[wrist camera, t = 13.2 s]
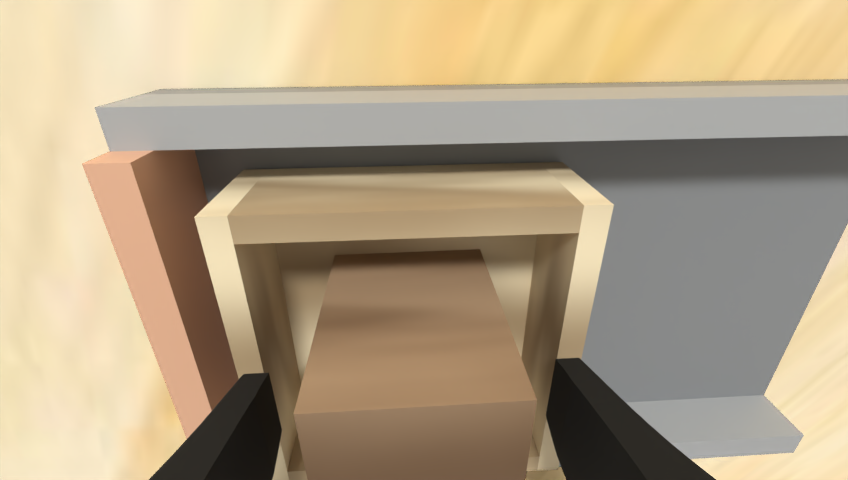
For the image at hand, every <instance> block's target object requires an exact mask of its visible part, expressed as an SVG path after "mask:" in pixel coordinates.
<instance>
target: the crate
mask: <svg viewBox="0 0 848 480" xmlns="http://www.w3.org/2000/svg"><path fill="white" fill-rule="evenodd" d="M613 207H614V204H613V203H611V202H610V201H609V200H608V199H606V198H605V197H604V196H603V195H602V194H600V193H599V192H598V191H597V190H596V189H594V188H593V187H592V186H591V185H589V184H588V183H587V182H586V181H585V180H583V179H582V178H581V177H580V176H579V175H577V174H576V173H575V172H574V171H572V170H571V169H570V168H569V167H568V166H566V165H565V164H564V163H563V162H540V163H498V164H457V165H415V166H374V167H332V168H290V169H249V170H243V171H242V172H241V173H240V174H238V175H237V176H236V177H235V178H234V179H233V180H232V181H231V182H230V183H229V184H228V185H227V186H226V187H225V188H224V189H223V190H222V191H221V192H220V193H219V194H218V195H217V196H216V197H215V198H214V199H212V200H211V201H210V202H209V203H208V204H207V205H206V206H205V207H204V208H203V209H202V210H201V211H200V212H199V213H198V214H197V215H196V216H195V217H194V218H195V222H196V225H197V229H198V233H199V236H200V240H201V244H202V247H203V251H204V254H205V258H206V262H207V265H208V269H209V273H210V276H211V280H212V284H213V287H214V291H215V295H216V298H217V302H218V306H219V309H220V313H221V317H222V320H223V324H224V327H225V331H226V335H227V338H228V342H229V346H230V349H231V353H232V357H233V360H234V364H235V368H236V371H237V375H238V379H239V378H240V377H241V376H242V375H243V374H251V373H269V375H270V380H271V384H272V388H273V393H274V397H275V401H276V406H277V410H278V415H279V419H280V423H281V428H282V433H281V439H280V445H279V450H278V456H277V461H276V466H275V471H274V475H273V478H272V480H307V475H306V470H305V466H304V461H303V456H302V452H301V447H300V442H299V438H298V433H297V428H296V424H295V419H294V415H293V414H294V410H295V407H296V403H297V399H298V395H299V391H300V387H301V383H302V380H303V376H304V372H305V368H306V364H307V360H308V357H309V353H310V349H311V345H312V341H313V337H314V333H315V330H316V326H317V322H318V318H319V314H320V310H321V306H322V303H323V299H324V295H325V291H326V287H327V283H328V279H329V276H330V272H331V268H332V264H333V260H334V256H335V255H347V254H372V253H397V252H422V251H446V250H471V249H480V251H481V253H482V256H483V259H484V261H485V264H486V266H487V269H488V272H489V274H490V277H491V280H492V282H493V285H494V288H495V290H496V293H497V296H498V298H499V301H500V303H501V306H502V309H503V311H504V314H505V317H506V319H507V322H508V325H509V327H510V330H511V333H512V335H513V338H514V340H515V343H516V346H517V348H518V351H519V354H520V356H521V359H522V362H523V364H524V367H525V370H526V372H527V375H528V377H529V380H530V383H531V385H532V388H533V391H534V393H535V396H536V399H537V404H536V411H535V418H534V424H533V431H532V438H531V444H530V451H529V458H528V464H527V471H539V470H555V469H558V467H559V460H558V457H557V454H556V451H555V447H554V444H553V441H552V437H551V433H550V430H549V426H548V422H547V418H546V411H547V405H548V400H549V394H550V388H551V383H552V377H553V371H554V366H555V360H556V359H562V358H580V359H581V358H582V353H583V349H584V344H585V339H586V335H587V330H588V325H589V320H590V316H591V311H592V306H593V301H594V297H595V292H596V287H597V282H598V278H599V273H600V268H601V264H602V259H603V254H604V249H605V245H606V240H607V235H608V230H609V226H610V221H611V216H612V212H613Z"/></svg>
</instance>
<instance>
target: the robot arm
mask: <svg viewBox="0 0 848 480" xmlns="http://www.w3.org/2000/svg"><path fill="white" fill-rule="evenodd" d="M546 418H547V422H548V426H549V430H550V433H551V437H552V441H553V444H554V447H555V451H556V454H557V457H558V460H559V462H560V465H561V467H562V470H563V472H564V475H565V477H566V480H716V479H715V478H713V477H712V476H711V475H709V474H708V473H707V472H705V471H704V470H703V469H702V468H700V467H699V466H698V465H697V464H695V463H694V462H693V461H692V460H690V459H689V458H688V457H687V456H686V455H684V454H683V453H682V452H681V451H680V450H678V449H677V448H676V447H675V446H674V445H672V444H671V443H670V442H669V441H668V440H667V439H665V438H664V437H663V436H662V435H661V434H660V433H659V432H657V431H656V430H655V429H654V428H653V427H652V426H651V425H650V424H648V423H647V422H646V421H645V420H644V419H643V418H642V417H641V416H640V415H639V414H637V413H636V412H635V411H634V410H633V409H632V408H631V407H630V406H629V405H628V404H627V403H626V402H625V401H624V400H622V399H621V398H620V397H619V396H618V395H617V394H616V393H615V392H614V391H613V390H612V389H611V388H610V387H609V386H608V385H607V384H606V383H605V382H604V381H603V380H602V379H601V378H600V377H599V376H598V375H597V374H596V373H595V372H593V371H592V370H591V369H590V368H589V367H588V366H587V365H586V364H585V363H584V362H583V361H582V360H581V359H580V358H562V359H556V360H555V366H554V371H553V377H552V383H551V388H550V394H549V400H548V405H547V411H546ZM281 433H282V428H281V423H280V419H279V415H278V410H277V406H276V401H275V397H274V393H273V388H272V384H271V380H270V375H269V373H251V374H243V375H242V376H241V377H240V378H239V379H238V381H237V382H236V383H235V384H234V385H233V386H232V388H231V389H230V390H229V391H228V392H227V394H226V395H225V396H224V397H223V398H222V399H221V401H220V402H219V403H218V404H217V405H216V407H215V408H214V409H213V410H212V411H211V412H210V414H209V415H208V416H207V417H206V418H205V419H204V420H203V422H202V423H201V424H200V425H199V426H198V427H197V428H196V430H195V431H194V432H193V433H192V434H191V435H190V436H189V437H188V438H187V440H186V441H185V442H184V443H183V444H182V445H181V446H180V447H179V449H178V450H177V451H176V452H175V453H174V454H173V455H172V456H171V457H170V458H169V459H168V460H167V461H166V462H165V464H164V465H163V466H162V467H161V468H160V469H159V470H158V471H157V472H156V473H155V474H154V475H153V476H152V477H151V478H150V479H149V480H272V478H273V475H274V471H275V466H276V461H277V456H278V450H279V445H280V439H281Z"/></svg>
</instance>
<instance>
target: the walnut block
mask: <svg viewBox="0 0 848 480" xmlns="http://www.w3.org/2000/svg"><path fill="white" fill-rule="evenodd" d="M536 404H537V399H536V396H535V393H534V391H533V388H532V385H531V383H530V380H529V377H528V375H527V372H526V370H525V367H524V364H523V362H522V359H521V356H520V354H519V351H518V348H517V346H516V343H515V340H514V338H513V335H512V333H511V330H510V327H509V325H508V322H507V319H506V317H505V314H504V311H503V309H502V306H501V303H500V301H499V298H498V296H497V293H496V290H495V288H494V285H493V282H492V280H491V277H490V274H489V272H488V269H487V266H486V264H485V261H484V259H483V256H482V253H481V251H480V249H471V250H446V251H422V252H397V253H372V254H347V255H335V256H334V260H333V264H332V268H331V272H330V276H329V279H328V283H327V287H326V291H325V295H324V299H323V303H322V306H321V310H320V314H319V318H318V322H317V326H316V330H315V333H314V337H313V341H312V345H311V349H310V353H309V357H308V360H307V364H306V368H305V372H304V376H303V380H302V383H301V387H300V391H299V395H298V399H297V403H296V407H295V410H294V414H293V415H294V419H295V424H296V428H297V433H298V438H299V442H300V447H301V452H302V456H303V461H304V466H305V470H306V475H307V480H525V478H526V471H527V464H528V458H529V451H530V444H531V438H532V431H533V424H534V418H535V411H536Z"/></svg>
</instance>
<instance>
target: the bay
mask: <svg viewBox="0 0 848 480" xmlns="http://www.w3.org/2000/svg"><path fill="white" fill-rule="evenodd" d="M95 110H96V113H97V116H98V118H99V121H100V124H101V127H102V130H103V133H104V136H105V139H106V142H107V144H108V147H109V150H110V152H107V153H105V154H103V155H101V156H99V157H96V158H94V159H92V160H90V161H87V162H85V163H83V164H82V165H83V168H84V170H85V173H86V175H87V178H88V181H89V183H90V186H91V189H92V191H93V194H94V196H95V199H96V202H97V204H98V207H99V210H100V212H101V215H102V217H103V220H104V223H105V225H106V228H107V231H108V233H109V236H110V238H111V241H112V244H113V246H114V249H115V252H116V254H117V257H118V259H119V262H120V265H121V267H122V270H123V273H124V275H125V278H126V280H127V283H128V286H129V288H130V291H131V294H132V296H133V299H134V301H135V304H136V307H137V309H138V312H139V315H140V317H141V320H142V322H143V325H144V328H145V330H146V333H147V336H148V338H149V341H150V343H151V346H152V349H153V351H154V354H155V357H156V359H157V362H158V364H159V367H160V370H161V372H162V375H163V378H164V380H165V383H166V385H167V388H168V391H169V393H170V396H171V399H172V401H173V404H174V406H175V409H176V412H177V414H178V417H179V420H180V422H181V425H182V427H183V430H184V433H185V435H186V438H188V437H189V436H190V435H191V434H192V433H193V432H194V431H195V430H196V428H197V427H198V426H199V425H200V424H201V423H202V422H203V420H204V419H205V418H206V417H207V416H208V415H209V414H210V412H211V411H212V410H213V409H214V408H215V407H216V405H217V404H218V403H219V402H220V401H221V399H222V398H223V397H224V396H225V395H226V394H227V392H228V391H229V390H230V389H231V388H232V386H233V385H234V384H235V383H236V382H237V381H238V375H237V371H236V368H235V364H234V360H233V357H232V353H231V349H230V346H229V342H228V338H227V335H226V331H225V327H224V324H223V320H222V317H221V313H220V309H219V306H218V302H217V298H216V295H215V291H214V287H213V284H212V280H211V276H210V273H209V269H208V265H207V262H206V258H205V254H204V251H203V247H202V244H201V240H200V236H199V233H198V229H197V225H196V222H195V218H194V217H195V216H196V215H197V214H198V213H199V212H200V211H201V210H202V209H203V208H204V207H205V206H206V205H207V204H208V203H209V202H210V201H211V200H212V199H214V198H215V197H216V196H217V195H218V194H219V193H220V192H221V191H222V190H223V189H224V188H225V187H226V186H227V185H228V184H229V183H230V182H231V181H232V180H233V179H234V178H235V177H236V176H237V175H238V174H240V173H241V172H242V171H243V170H249V169H290V168H332V167H374V166H415V165H457V164H498V163H540V162H563V163H564V164H565V165H566V166H568V167H569V168H570V169H571V170H572V171H574V172H575V173H576V174H577V175H579V176H580V177H581V178H582V179H583V180H585V181H586V182H587V183H588V184H589V185H591V186H592V187H593V188H594V189H596V190H597V191H598V192H599V193H600V194H602V195H603V196H604V197H605V198H606V199H608V200H609V201H610V202H611V203H613V204H614V207H613V212H612V216H611V221H610V226H609V230H608V235H607V240H606V245H605V249H604V254H603V259H602V264H601V268H600V273H599V278H598V282H597V287H596V292H595V297H594V301H593V306H592V311H591V316H590V320H589V325H588V330H587V335H586V339H585V344H584V349H583V353H582V358H581V360H582V361H583V362H584V363H585V364H586V365H587V366H588V367H589V368H590V369H591V370H592V371H593V372H595V373H596V374H597V375H598V376H599V377H600V378H601V379H602V380H603V381H604V382H605V383H606V384H607V385H608V386H609V387H610V388H611V389H612V390H613V391H614V392H615V393H616V394H617V395H618V396H619V397H620V398H621V399H622V400H624V401H625V402H626V403H627V404H628V405H629V406H630V407H631V408H632V409H633V410H634V411H635V412H636V413H637V414H639V415H640V416H641V417H642V418H643V419H644V420H645V421H646V422H647V423H648V424H650V425H651V426H652V427H653V428H654V429H655V430H656V431H657V432H659V433H660V434H661V435H662V436H663V437H664V438H665V439H667V440H668V441H669V442H670V443H671V444H672V445H674V446H675V447H676V448H677V449H678V450H680V451H681V452H682V453H683V454H684V455H686V456H687V457H688V458H689V459H696V458H712V457H728V456H744V455H761V454H777V453H793V452H794V451H795V449H796V447H797V446H798V444H799V442H800V440H801V439H802V437H803V434H802V433H801V432H800V431H799V430H798V429H797V428H796V427H795V426H794V425H793V424H792V423H791V422H790V421H789V420H788V419H787V418H786V417H785V416H784V415H783V414H782V413H781V412H780V411H779V410H778V409H777V408H776V407H775V406H774V405H773V404H772V403H771V402H770V401H769V400H768V399H767V398H766V397H765V396H764V393H765V391H766V389H767V387H768V385H769V383H770V381H771V379H772V377H773V375H774V373H775V371H776V369H777V366H778V364H779V362H780V360H781V358H782V356H783V354H784V352H785V350H786V348H787V346H788V344H789V342H790V340H791V338H792V336H793V334H794V332H795V330H796V328H797V326H798V324H799V322H800V320H801V318H802V315H803V313H804V311H805V309H806V307H807V305H808V303H809V301H810V299H811V297H812V295H813V293H814V291H815V289H816V287H817V285H818V283H819V281H820V279H821V277H822V275H823V273H824V271H825V269H826V266H827V264H828V262H829V260H830V258H831V256H832V254H833V252H834V250H835V248H836V246H837V244H838V242H839V240H840V238H841V236H842V234H843V232H844V230H845V228H846V226H847V224H848V79H845V80H775V81H705V82H635V83H565V84H496V85H426V86H356V87H286V88H216V89H160V90H156V91H152V92H149V93H145V94H142V95H138V96H134V97H131V98H127V99H124V100H120V101H116V102H113V103H109V104H106V105H102V106H98V107H95ZM559 467H561V465H560V462H559Z"/></svg>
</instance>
